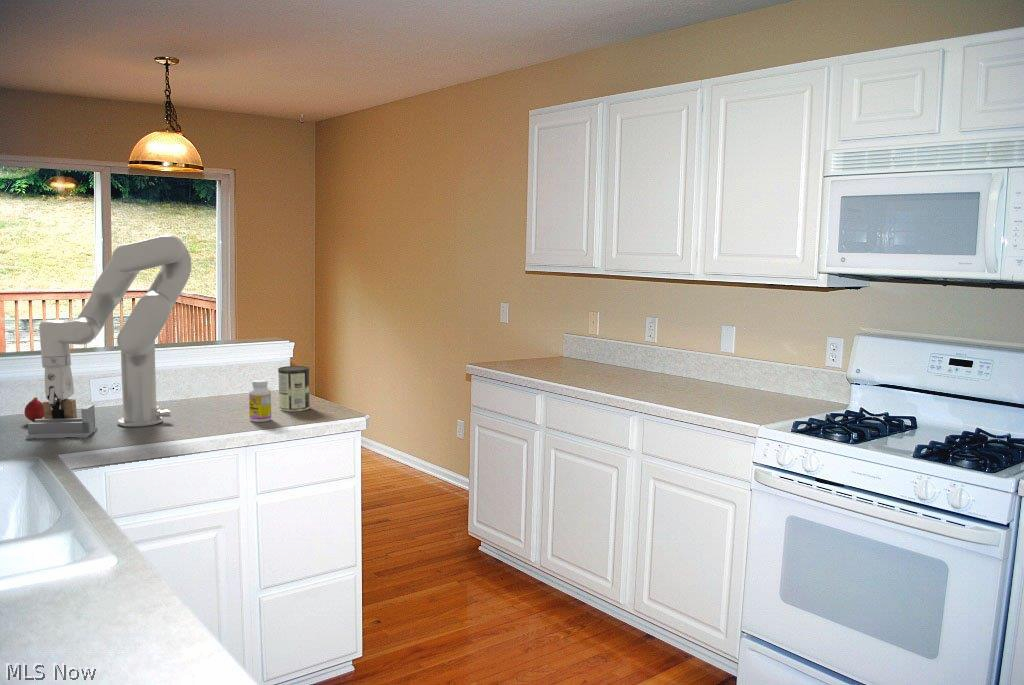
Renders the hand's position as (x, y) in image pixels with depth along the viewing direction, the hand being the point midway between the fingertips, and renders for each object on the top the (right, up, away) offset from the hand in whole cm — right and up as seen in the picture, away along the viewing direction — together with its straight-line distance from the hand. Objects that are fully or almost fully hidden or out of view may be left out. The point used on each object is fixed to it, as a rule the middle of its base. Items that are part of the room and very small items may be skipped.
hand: (61, 420), depth 241 cm
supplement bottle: (+56, -1, +14) cm, 58 cm away
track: (+5, -3, -8) cm, 10 cm away
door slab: (0, -2, 0) cm, 2 cm away
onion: (-11, -1, +5) cm, 12 cm away
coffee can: (+62, +1, +33) cm, 70 cm away
